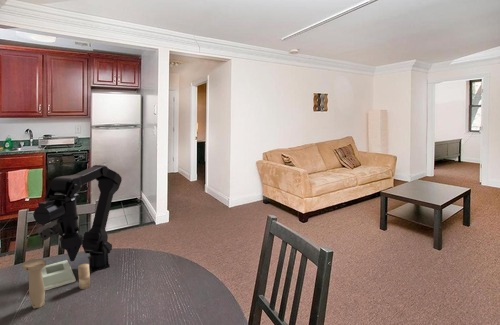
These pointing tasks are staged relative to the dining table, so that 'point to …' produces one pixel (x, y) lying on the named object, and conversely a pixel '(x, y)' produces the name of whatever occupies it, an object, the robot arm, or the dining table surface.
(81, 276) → the dowel
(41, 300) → the handle
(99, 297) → the dining table surface
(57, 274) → the socket plate
